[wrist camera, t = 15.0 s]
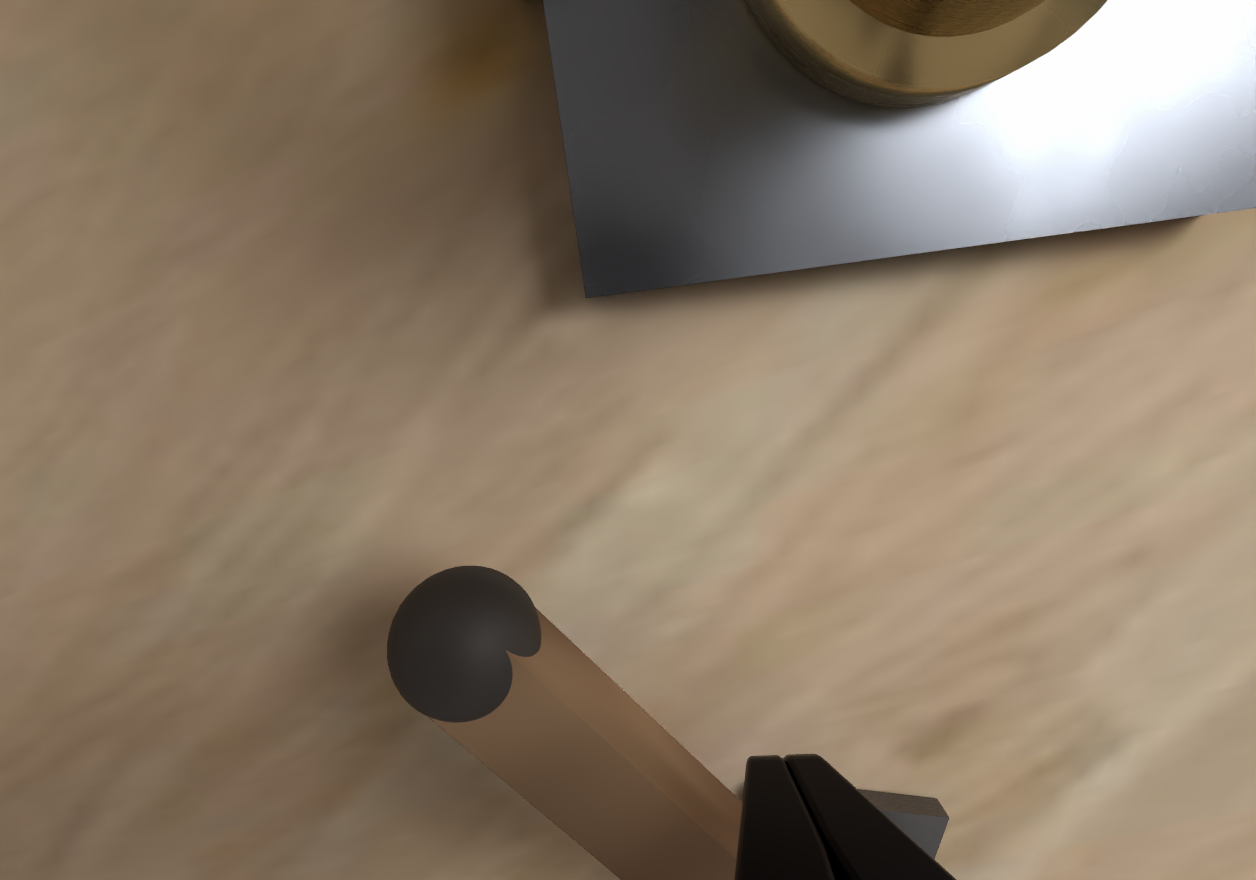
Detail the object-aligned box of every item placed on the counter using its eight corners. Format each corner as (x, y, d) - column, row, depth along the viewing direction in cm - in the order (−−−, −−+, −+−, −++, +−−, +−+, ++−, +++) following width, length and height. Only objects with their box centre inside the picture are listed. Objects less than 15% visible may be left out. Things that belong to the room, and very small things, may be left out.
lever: (959, 948, 15) (1033, 1087, 12) (841, 1025, 15) (887, 1172, 13) (499, 498, 11) (469, 560, 9) (368, 616, 12) (304, 705, 9)
